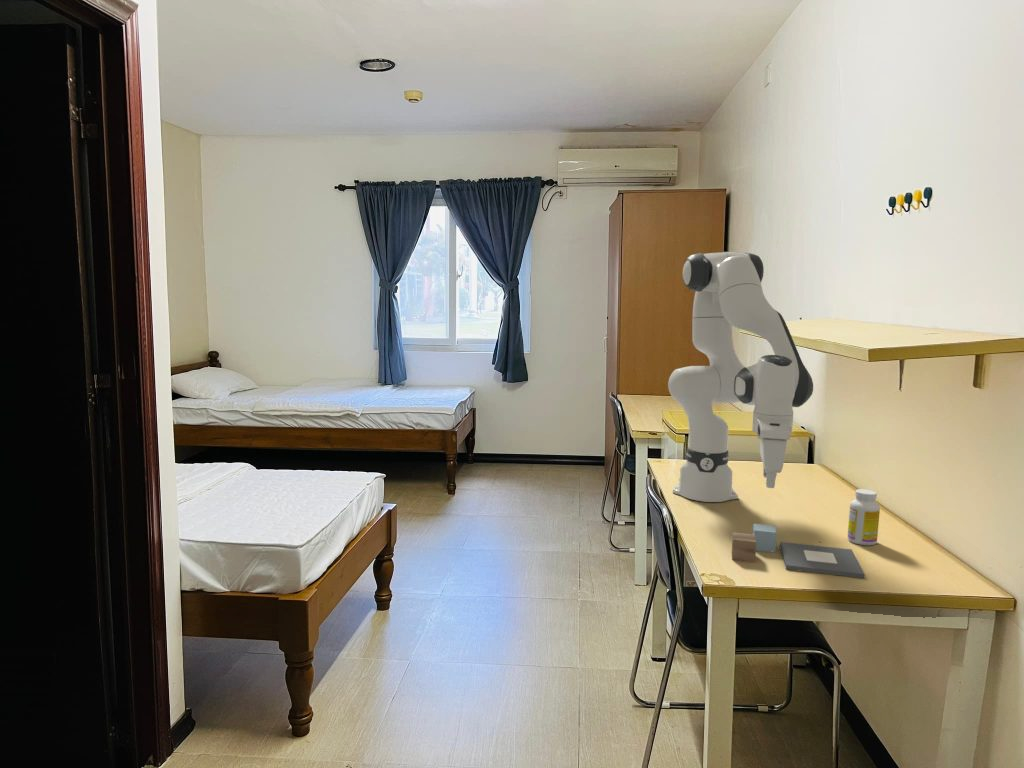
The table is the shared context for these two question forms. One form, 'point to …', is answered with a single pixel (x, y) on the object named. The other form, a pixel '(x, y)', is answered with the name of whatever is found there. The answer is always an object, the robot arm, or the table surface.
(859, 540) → the supplement bottle
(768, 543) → the blue block
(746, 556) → the walnut block
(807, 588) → the table surface
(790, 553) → the dark grey flat slab
